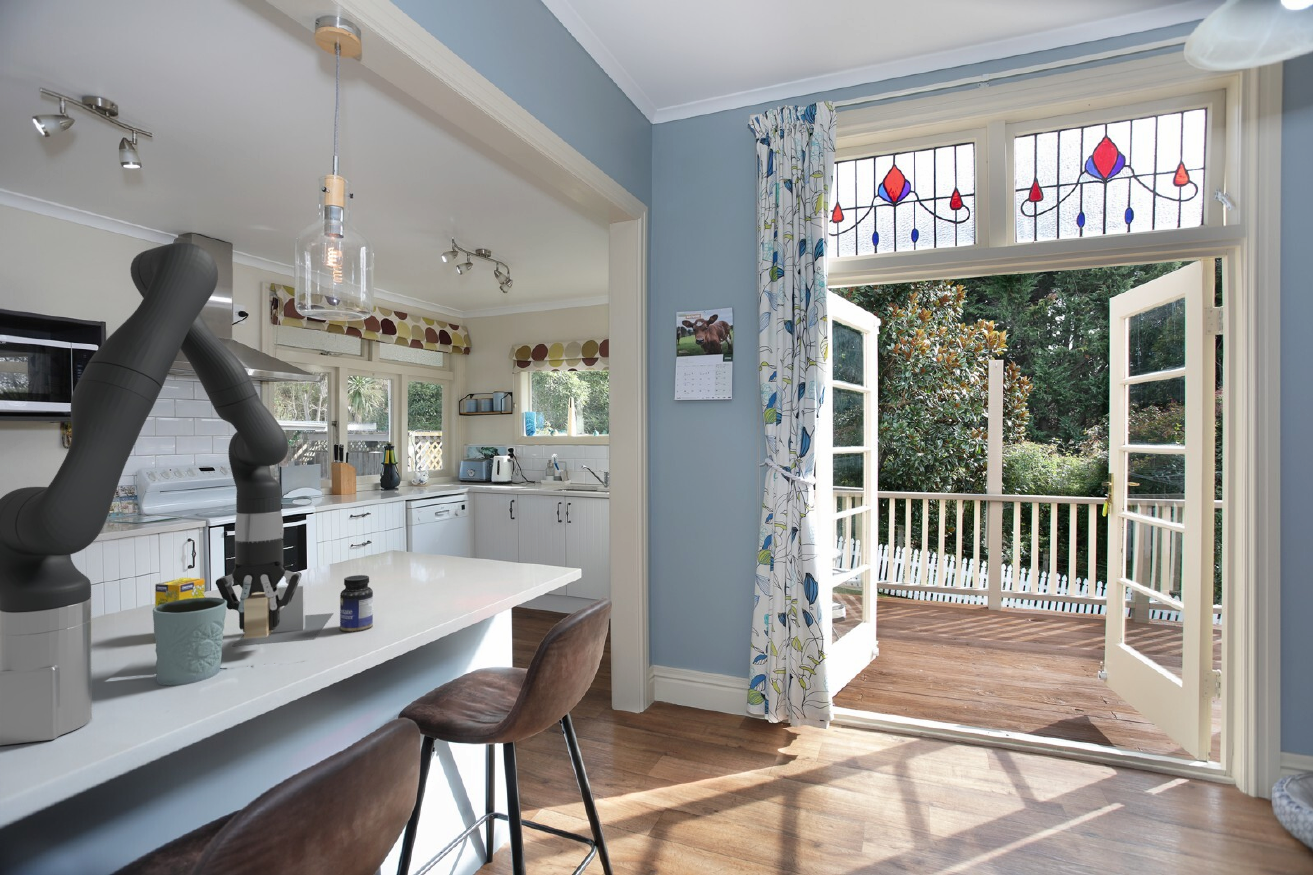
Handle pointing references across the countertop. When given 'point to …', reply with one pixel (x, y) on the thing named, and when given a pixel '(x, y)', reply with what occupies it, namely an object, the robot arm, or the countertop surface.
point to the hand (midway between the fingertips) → (260, 629)
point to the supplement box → (179, 590)
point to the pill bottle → (356, 605)
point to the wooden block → (256, 616)
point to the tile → (292, 610)
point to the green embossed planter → (188, 639)
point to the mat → (292, 632)
